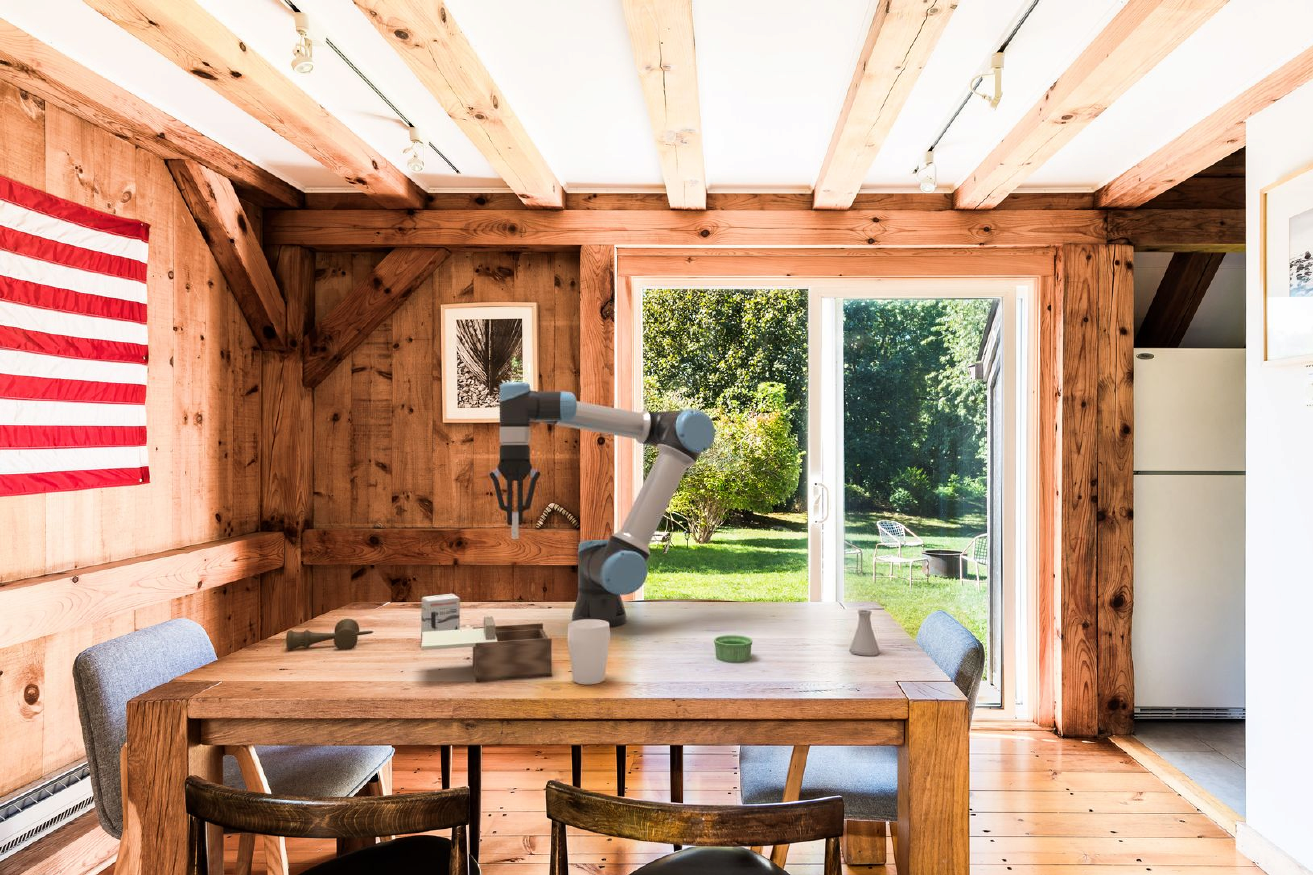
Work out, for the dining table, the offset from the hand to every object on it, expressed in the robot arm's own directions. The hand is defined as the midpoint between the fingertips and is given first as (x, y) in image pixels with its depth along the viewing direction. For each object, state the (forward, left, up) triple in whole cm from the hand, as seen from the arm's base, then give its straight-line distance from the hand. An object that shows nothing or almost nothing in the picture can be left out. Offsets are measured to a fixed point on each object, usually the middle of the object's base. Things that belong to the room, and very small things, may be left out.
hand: (514, 538), depth 203 cm
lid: (+14, +23, -19) cm, 33 cm away
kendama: (+44, -9, -27) cm, 53 cm away
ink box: (+18, -5, -27) cm, 33 cm away
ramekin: (-48, +27, -27) cm, 61 cm away
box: (+3, +23, -26) cm, 35 cm away
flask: (-80, +31, -27) cm, 90 cm away
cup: (-12, +35, -27) cm, 46 cm away
